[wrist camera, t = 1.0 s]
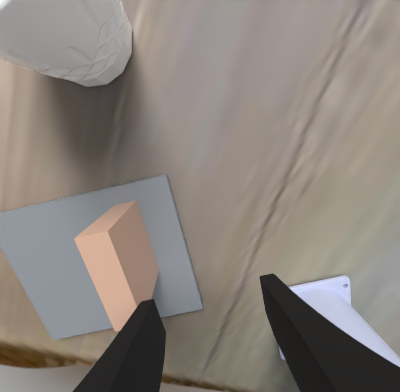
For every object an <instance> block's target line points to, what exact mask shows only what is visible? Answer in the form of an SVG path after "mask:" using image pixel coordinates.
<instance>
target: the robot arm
mask: <svg viewBox="0 0 400 392" xmlns="http://www.w3.org/2000/svg"><path fill="white" fill-rule="evenodd" d="M260 282H261V287H262V293H263V299H264V305H265V310H266V314H267V317H268V320H269V322H270V325H271V328H272V331H273V333H274V336H275V338H276V341H277V343H278V346H279V352H280V356H281V359H283V360H286V362H287V364H288V366H289V368H290V370H291V372H292V375H293V377H294V379H295V381H296V383H297V385H298V387H299V389H300V391H301V392H400V358H399V357H398V356H397V354H396V353H395V352H394V351H393V350H392V349H391V348H390V347H389V346H388V345H387V344H386V343H385V342H384V341H383V340H382V338H381V337H380V336H379V335H378V334H377V333H376V332H375V331H374V330H373V329H372V328H371V327H370V326H369V325H368V324H367V322H366V321H365V320H364V319H363V318H362V317H361V316H360V315H359V314H358V313H357V312H356V311H355V310H354V309H353V307H352V306H351V292H350V279H349V278H348V277H347V276H339V277H334V278H329V279H324V280H319V281H315V282H310V283H305V284H300V285H295V286H291V287H288V286H286V285H285V284H284V283H283V282H282V281H281V280H280V279H279V278H278V277H277V276H276V275H274V274H268V275H264V276H260ZM344 284H345V285H344ZM165 339H166V332H165V329H164V326H163V323H162V320H161V318H160V315H159V312H158V309H157V306H156V304H155V301H154V299H150V300H145V301H141V302H140V304H139V305H138V306H137V308H136V309H135V311H134V312H133V313H132V315H131V316H130V318H129V319H128V321H127V322H126V323H125V325H124V326H123V328H122V329H121V330H120V332H119V333H118V335H117V336H116V337H115V339H114V340H113V341H112V343H111V344H110V346H109V347H108V348H107V350H106V351H105V352H104V353H103V355H102V356H101V357H100V359H99V360H98V361H97V362H96V364H95V365H94V366H93V368H92V369H91V370H90V371H89V373H88V374H87V375H86V376H85V378H84V379H83V380H82V381H81V383H80V384H79V385H78V386H77V387H76V388H75V389H74V391H73V392H159V389H160V383H161V377H162V371H163V364H164V356H165Z"/></svg>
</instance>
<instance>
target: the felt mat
mask: <svg viewBox="0 0 400 392" xmlns="http://www.w3.org/2000/svg"><path fill="white" fill-rule="evenodd" d="M131 201H137V204H138V207H139V210H140V213H141V216H142V219H143V222H144V225H145V228H146V231H147V234H148V237H149V240H150V243H151V246H152V249H153V252H154V255H155V258H156V261H157V264H158V267H159V272H158V276H157V280H156V284H155V287H154V291H153V295H152V298H151V299H154V301H155V304H156V306H157V309H158V312H159V315H160V318H162V317H167V316H172V315H177V314H181V313H186V312H191V311H196V310H201V309H203V302H202V298H201V295H200V291H199V287H198V284H197V280H196V276H195V273H194V269H193V266H192V262H191V258H190V255H189V251H188V247H187V244H186V240H185V237H184V233H183V229H182V226H181V222H180V218H179V215H178V211H177V208H176V204H175V200H174V197H173V193H172V189H171V186H170V182H169V179H168V175H167V174H164V175H159V176H155V177H151V178H147V179H142V180H138V181H134V182H129V183H125V184H121V185H117V186H112V187H108V188H104V189H99V190H95V191H91V192H86V193H82V194H78V195H74V196H69V197H65V198H61V199H56V200H52V201H48V202H44V203H39V204H35V205H31V206H26V207H22V208H18V209H14V210H9V211H5V212H1V213H0V247H1V249H2V250H3V252H4V254H5V256H6V258H7V259H8V261H9V263H10V265H11V267H12V268H13V270H14V272H15V274H16V275H17V277H18V279H19V281H20V283H21V284H22V286H23V288H24V290H25V292H26V293H27V295H28V297H29V299H30V300H31V302H32V304H33V306H34V308H35V309H36V311H37V313H38V315H39V317H40V318H41V320H42V322H43V324H44V325H45V327H46V329H47V331H48V333H49V334H50V336H51V338H52V340H56V339H61V338H66V337H71V336H75V335H80V334H85V333H90V332H95V331H99V330H104V329H109V328H113V326H112V324H111V321H110V319H109V317H108V315H107V312H106V310H105V308H104V306H103V303H102V301H101V299H100V297H99V294H98V292H97V290H96V288H95V285H94V283H93V281H92V279H91V276H90V274H89V272H88V270H87V267H86V265H85V263H84V261H83V258H82V256H81V254H80V251H79V249H78V247H77V245H76V242H75V240H74V238H75V237H76V236H78V235H79V234H80V233H81V232H83V231H84V230H85V229H86V228H87V227H89V226H90V225H91V224H92V223H93V222H95V221H96V220H97V219H98V218H99V217H101V216H102V215H103V214H104V213H105V212H107V211H108V210H109V209H110V208H111V207H113V206H114V205H118V204H122V203H127V202H131Z"/></svg>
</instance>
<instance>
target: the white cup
mask: <svg viewBox="0 0 400 392" xmlns="http://www.w3.org/2000/svg"><path fill="white" fill-rule="evenodd" d="M131 53H132V27H131V24H130V22H129V19H128V17H127V14H126V11H125V9H124V6H123V4H122V1H121V0H0V59H2V60H5V61H8V62H11V63H14V64H16V65H19V66H22V67H25V68H27V69H30V70H33V71H35V72H39V73H42V74H46V75H49V76H51V77H54V78H63V79H66V80H69V81H71V82H74V83H77V84H80V85H83V86H86V87H92V86H99V85H106V84H108V83H110V82H111V81H112V80H114V79H115V78H116V77H118V76H119V75H120V74H121V73H123V71H124V69H125V67H126V64H127V62H128V60H129V58H130V56H131Z"/></svg>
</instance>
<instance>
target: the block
mask: <svg viewBox="0 0 400 392" xmlns="http://www.w3.org/2000/svg"><path fill="white" fill-rule="evenodd" d="M74 240H75V242H76V245H77V247H78V249H79V251H80V254H81V256H82V258H83V261H84V263H85V265H86V267H87V270H88V272H89V274H90V276H91V279H92V281H93V283H94V285H95V288H96V290H97V292H98V294H99V297H100V299H101V301H102V303H103V306H104V308H105V310H106V312H107V315H108V317H109V319H110V321H111V324H112V326H113V328H114V330H115V332H116V331H120V330H121V329H122V328H123V326H124V325H125V323H126V322H127V321H128V319H129V318H130V316H131V315H132V313H133V312H134V311H135V309H136V308H137V306H138V305H139V304H140V302H141V301H145V300H150V299H151V298H152V295H153V291H154V287H155V284H156V280H157V276H158V272H159V267H158V264H157V261H156V258H155V255H154V252H153V249H152V246H151V243H150V240H149V237H148V234H147V231H146V228H145V225H144V222H143V219H142V216H141V213H140V210H139V207H138V204H137V201H131V202H127V203H122V204H118V205H114V206H113V207H111V208H110V209H109V210H108V211H107V212H105V213H104V214H103V215H102V216H101V217H99V218H98V219H97V220H96V221H95V222H93V223H92V224H91V225H90V226H89V227H87V228H86V229H85V230H84V231H83V232H81V233H80V234H79V235H78V236H76V237H75V238H74Z"/></svg>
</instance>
